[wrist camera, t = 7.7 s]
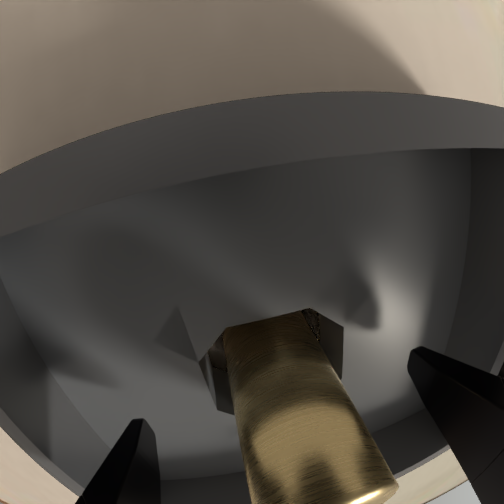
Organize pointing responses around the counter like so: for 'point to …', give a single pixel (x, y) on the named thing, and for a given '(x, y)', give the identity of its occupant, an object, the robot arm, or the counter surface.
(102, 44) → the counter surface
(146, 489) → the robot arm
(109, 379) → the tray
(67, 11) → the counter surface
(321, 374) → the brass peg
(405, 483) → the counter surface
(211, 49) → the counter surface
